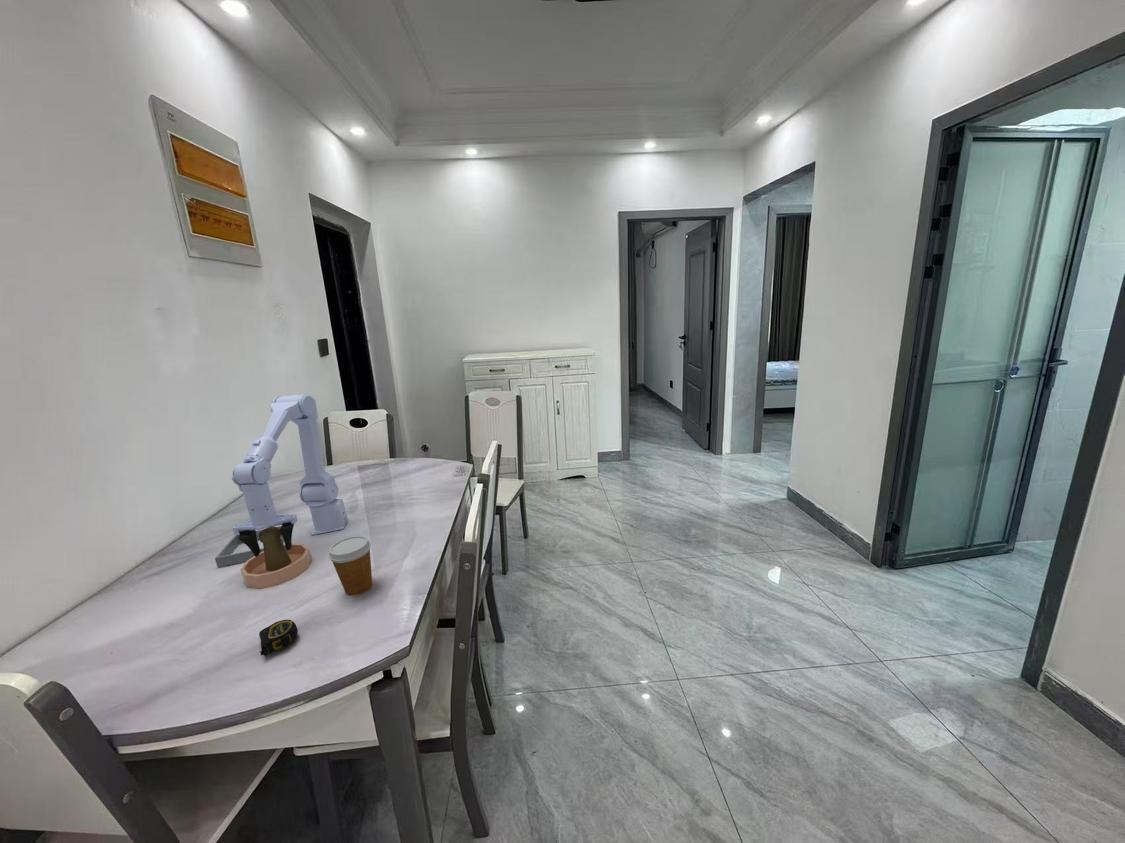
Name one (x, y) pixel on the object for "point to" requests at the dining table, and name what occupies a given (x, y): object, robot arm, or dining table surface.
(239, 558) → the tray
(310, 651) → the dining table surface
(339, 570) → the disposable coffee cup
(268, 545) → the cork
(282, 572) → the bowl
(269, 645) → the tape measure
